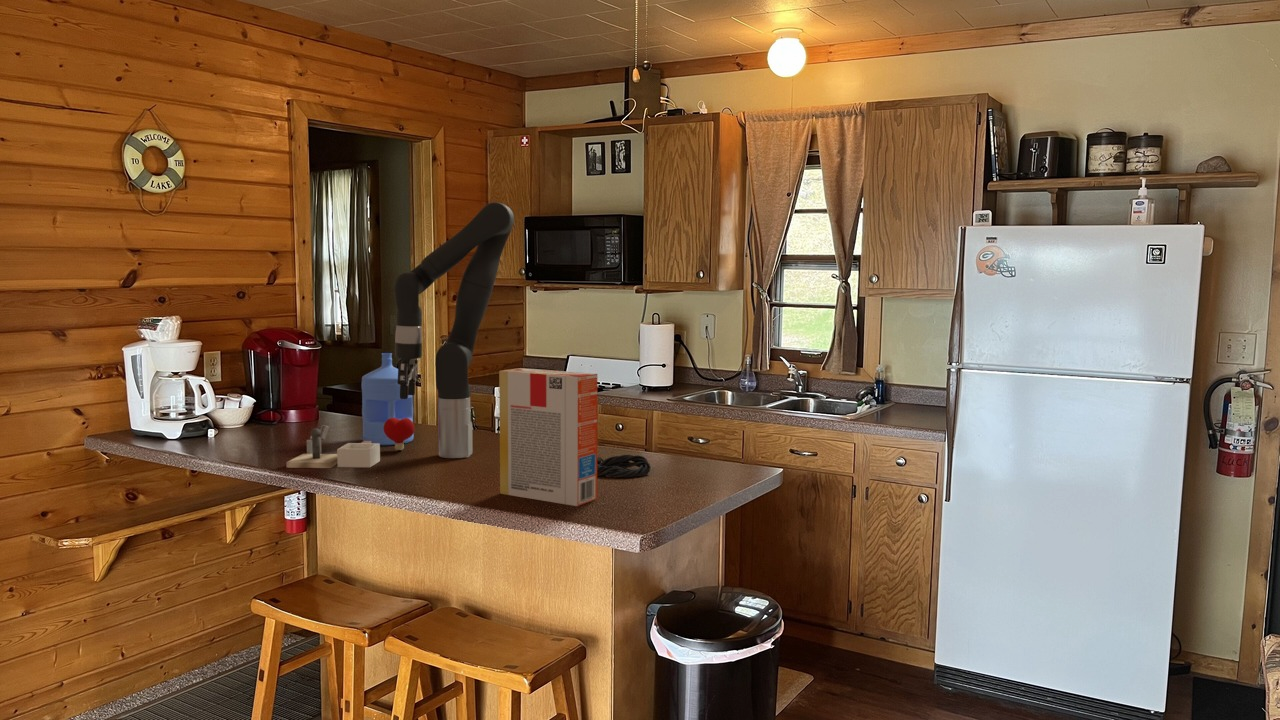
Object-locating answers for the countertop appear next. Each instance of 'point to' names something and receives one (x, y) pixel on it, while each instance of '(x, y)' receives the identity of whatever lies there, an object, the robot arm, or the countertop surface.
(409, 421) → the red heart
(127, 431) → the countertop surface
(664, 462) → the countertop surface
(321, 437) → the lighter
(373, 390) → the water jug
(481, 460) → the countertop surface
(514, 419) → the pasta box
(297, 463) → the beige peg base
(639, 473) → the cable
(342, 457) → the white square frame
